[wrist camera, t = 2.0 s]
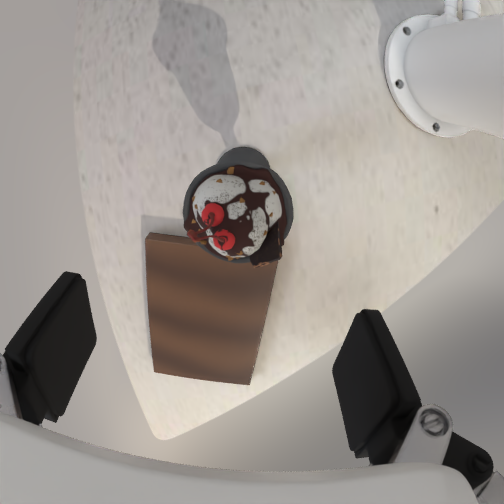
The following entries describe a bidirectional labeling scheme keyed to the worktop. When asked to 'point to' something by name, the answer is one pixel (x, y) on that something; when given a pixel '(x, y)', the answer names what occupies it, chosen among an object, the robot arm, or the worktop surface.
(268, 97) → the worktop surface
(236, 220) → the sundae
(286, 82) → the worktop surface
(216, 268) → the serving board
